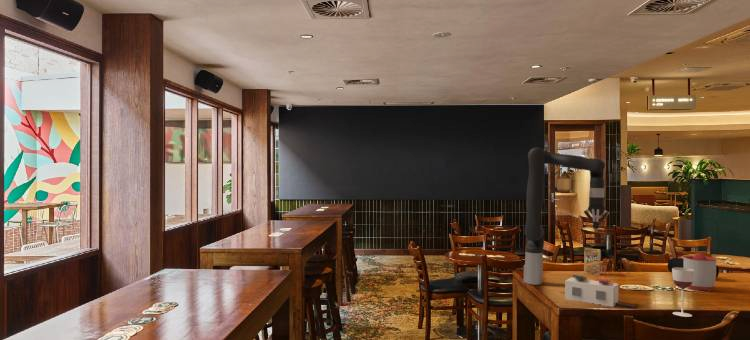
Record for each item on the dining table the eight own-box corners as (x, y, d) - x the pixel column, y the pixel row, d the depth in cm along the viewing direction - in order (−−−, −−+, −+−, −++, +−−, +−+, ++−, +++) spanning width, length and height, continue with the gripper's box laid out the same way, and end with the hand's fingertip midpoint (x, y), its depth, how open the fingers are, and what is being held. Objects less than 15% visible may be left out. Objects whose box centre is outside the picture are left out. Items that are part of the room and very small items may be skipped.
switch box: (564, 299, 255) (564, 280, 254) (571, 295, 263) (571, 277, 263) (631, 310, 236) (632, 290, 236) (636, 305, 245) (636, 286, 245)
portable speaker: (666, 273, 324) (666, 257, 324) (674, 272, 329) (674, 256, 329) (711, 281, 303) (712, 264, 303) (719, 279, 308) (719, 262, 308)
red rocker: (596, 282, 246) (596, 277, 247) (601, 283, 253) (601, 278, 254) (605, 283, 244) (605, 279, 244) (610, 284, 251) (610, 280, 251)
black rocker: (572, 278, 253) (573, 274, 253) (578, 280, 260) (578, 276, 260) (581, 280, 250) (581, 275, 251) (586, 281, 257) (586, 277, 258)
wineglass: (667, 311, 234) (668, 267, 234) (685, 311, 235) (686, 267, 235) (678, 316, 226) (679, 270, 226) (697, 316, 227) (698, 270, 227)
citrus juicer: (714, 287, 287) (715, 251, 287) (718, 293, 272) (718, 255, 272) (681, 283, 294) (682, 248, 294) (683, 289, 279) (683, 252, 279)
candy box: (583, 273, 319) (584, 248, 319) (585, 272, 323) (585, 247, 323) (599, 275, 315) (599, 250, 315) (600, 274, 318) (600, 249, 318)
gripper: (581, 196, 281) (581, 228, 281) (608, 197, 273) (607, 230, 273) (585, 195, 287) (585, 227, 287) (611, 196, 278) (610, 229, 279)
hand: (596, 228), depth 280 cm, fingers closed
